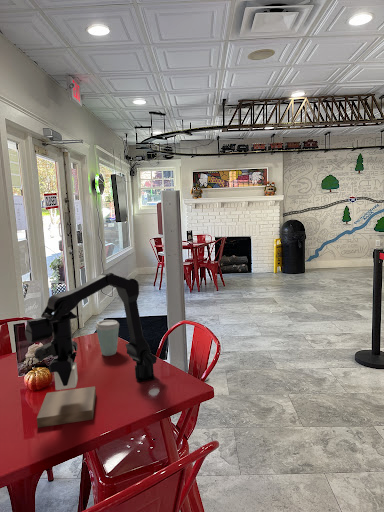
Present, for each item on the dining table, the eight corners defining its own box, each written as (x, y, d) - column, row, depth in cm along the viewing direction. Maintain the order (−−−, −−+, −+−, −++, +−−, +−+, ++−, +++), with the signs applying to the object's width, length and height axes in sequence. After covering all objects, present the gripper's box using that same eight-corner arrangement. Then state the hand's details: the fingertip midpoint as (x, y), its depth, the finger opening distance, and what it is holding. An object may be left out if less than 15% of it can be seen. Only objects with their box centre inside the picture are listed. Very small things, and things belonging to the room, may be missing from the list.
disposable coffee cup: (113, 347, 171) (111, 316, 169) (125, 353, 163) (123, 321, 161) (93, 353, 164) (90, 322, 162) (105, 360, 156) (102, 326, 154)
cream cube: (77, 379, 119) (76, 361, 118) (75, 387, 113) (74, 369, 112) (58, 381, 118) (57, 364, 117) (55, 390, 112) (54, 372, 111)
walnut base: (95, 394, 126) (95, 386, 125) (92, 419, 110) (92, 410, 110) (47, 401, 123) (46, 392, 122) (37, 427, 107) (36, 418, 107)
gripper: (41, 328, 121) (45, 372, 123) (28, 347, 103) (33, 399, 105) (75, 324, 123) (79, 368, 125) (68, 343, 105) (73, 393, 107)
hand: (66, 381), depth 115 cm, fingers closed on cream cube, 6 cm apart
